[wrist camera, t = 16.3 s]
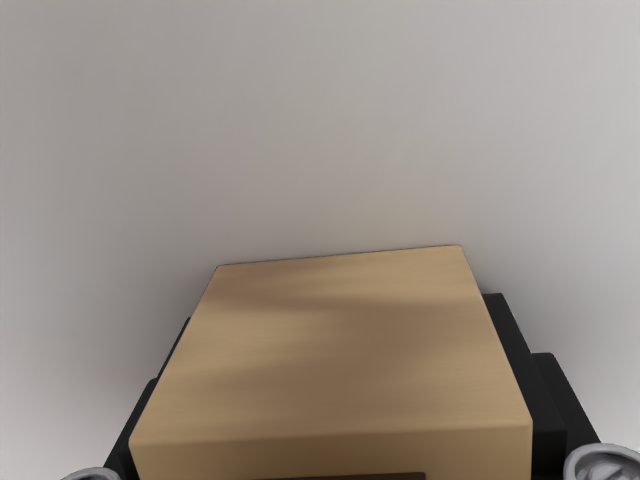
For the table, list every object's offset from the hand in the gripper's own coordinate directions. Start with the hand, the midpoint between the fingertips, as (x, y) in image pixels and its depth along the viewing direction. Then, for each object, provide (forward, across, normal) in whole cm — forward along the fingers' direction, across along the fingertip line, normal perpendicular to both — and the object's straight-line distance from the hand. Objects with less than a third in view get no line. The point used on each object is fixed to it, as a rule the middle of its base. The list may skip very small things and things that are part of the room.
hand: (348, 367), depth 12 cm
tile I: (0, 0, 0) cm, 0 cm away
